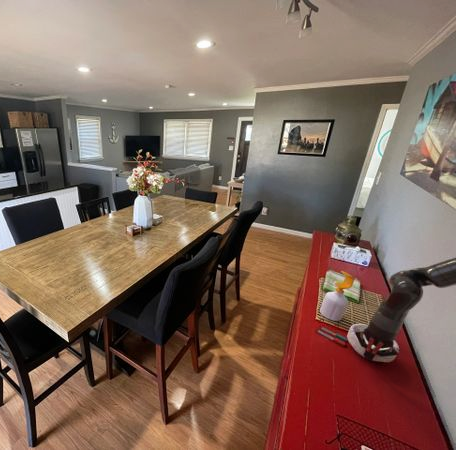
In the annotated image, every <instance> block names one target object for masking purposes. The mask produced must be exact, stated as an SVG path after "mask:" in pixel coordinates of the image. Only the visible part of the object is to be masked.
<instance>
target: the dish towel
mask: <svg viewBox="0 0 456 450" xmlns="http://www.w3.org/2000/svg"><path fill="white" fill-rule="evenodd" d="M345 277H346V275H345V274H343V273H341V272H336V271H334V270H332V269H329V270H327V271H326V273H325V277H324V282H323V285H322V286H323V287H322V290H323V291H326V293H328V292H335V290H336V288H338V286H337V285H335V283H341V282H343V281H344V279H345ZM343 290H344V294H343V295H344V296H345V297H346V298H347V300H348V301H352V302H354V303H356V304H358V303H360V297H361V280H359V279H357V278H355V280H354V282H353V285H352V287H351V288H348V289H343Z"/></svg>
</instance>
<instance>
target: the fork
mask: <svg viewBox="0 0 456 450" xmlns="http://www.w3.org/2000/svg"><path fill="white" fill-rule="evenodd" d="M320 330H321V331H323V332H325V333H327V334H330V335H331V336H334V337H336V338H338V339H339V340H341V341H343V342H345V343H347V341H348V339H347V337H345V336H344V335H341V334H339V333H338V332H336V333H334V332H333V331H331V330H330V329H327V328H325V327H323V326H322V327H321V329H320Z"/></svg>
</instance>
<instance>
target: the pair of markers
mask: <svg viewBox="0 0 456 450" xmlns="http://www.w3.org/2000/svg"><path fill="white" fill-rule="evenodd" d="M317 333H318V334H319V335H321V336H323V337H325V338H326V339H329V340H331V341H333V342H334V343H336V344H339V346H341V347H345V346H346V342H345V341H343V340H341V339H339V338H337V337H335V336H334V337H333V336H332V335H329V334H328V333H326V332H324V331H322V330H321V329H318V330H317Z"/></svg>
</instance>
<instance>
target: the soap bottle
mask: <svg viewBox="0 0 456 450" xmlns="http://www.w3.org/2000/svg"><path fill="white" fill-rule="evenodd" d="M340 273H341V274H342V275H345V276H346V277H345V279H344V281H343V282H341V283H335V285H337V286H338V288H336V290H335V292H326V293H325V295H324V297H323V300H322V303H321V306H320V308H319V312H320V314H321V315H322V316H323V317H324V318H326V319H328V320H330V321H333V322H339V321H341V320H342V319H343V316H344V314H345V311H346V310H347V307H348V305H349V299H347V298H346V297H345V296H344V295H343V294H344V290H343V289H348V288H351V287H352V285H353V282H354V280H355V279H356V278H355V277H354V276H352V275H351V274H350V273H348V272H346V271H343V270H340Z"/></svg>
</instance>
